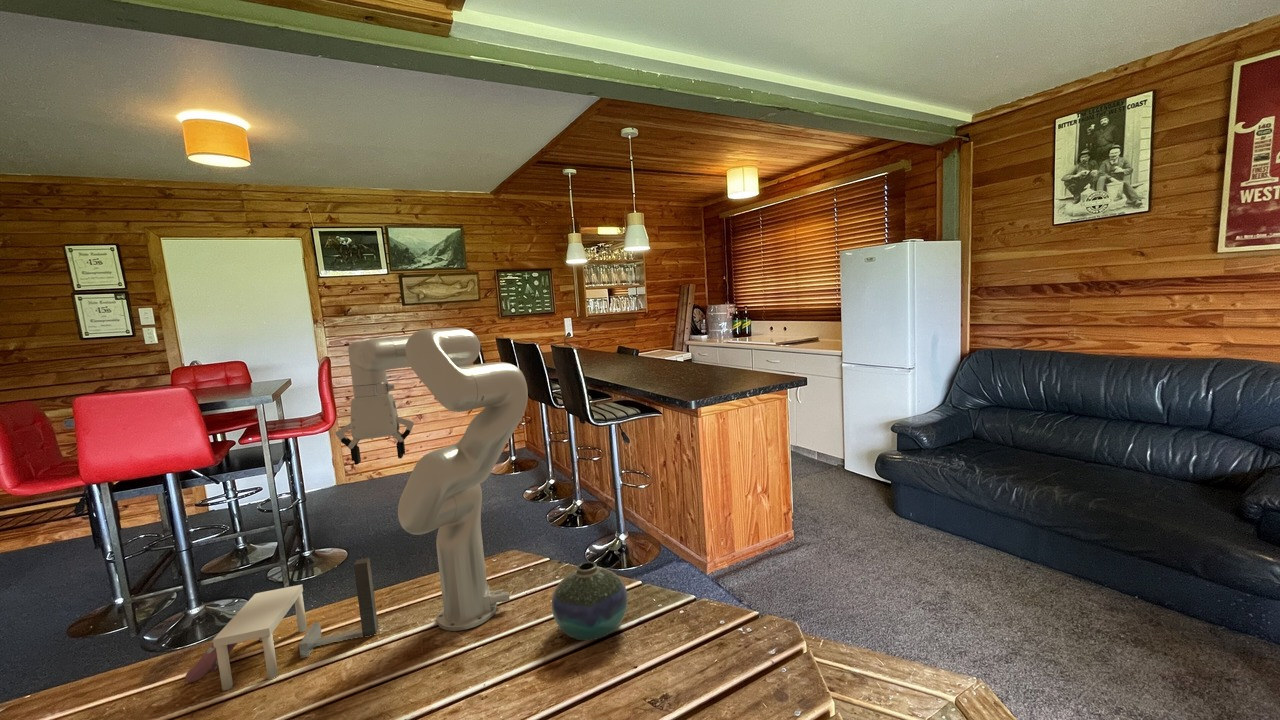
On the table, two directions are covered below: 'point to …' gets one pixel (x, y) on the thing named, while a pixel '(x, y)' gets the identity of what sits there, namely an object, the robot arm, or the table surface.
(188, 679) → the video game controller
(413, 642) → the table surface
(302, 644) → the scraper
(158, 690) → the table surface
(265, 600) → the low stool
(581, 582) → the vase
